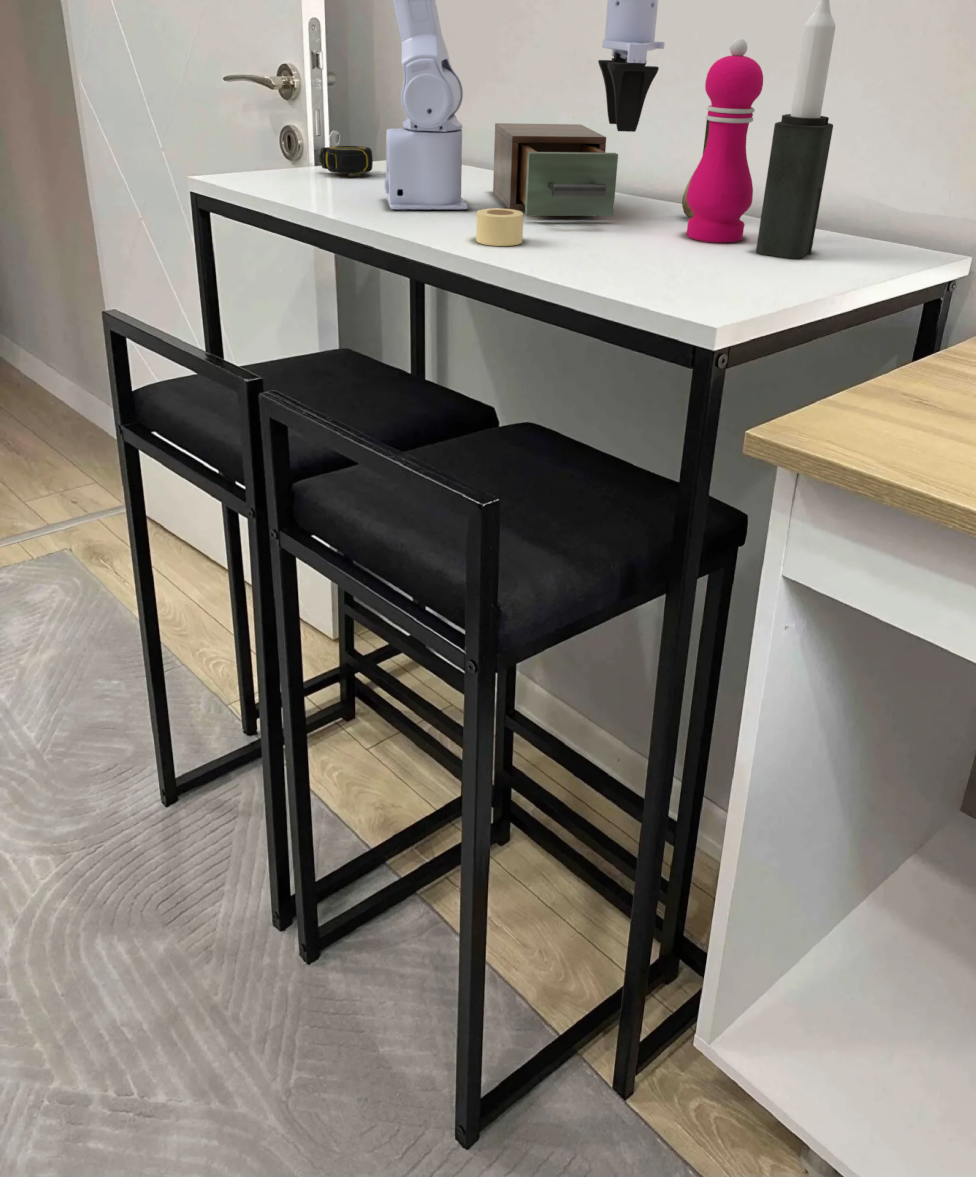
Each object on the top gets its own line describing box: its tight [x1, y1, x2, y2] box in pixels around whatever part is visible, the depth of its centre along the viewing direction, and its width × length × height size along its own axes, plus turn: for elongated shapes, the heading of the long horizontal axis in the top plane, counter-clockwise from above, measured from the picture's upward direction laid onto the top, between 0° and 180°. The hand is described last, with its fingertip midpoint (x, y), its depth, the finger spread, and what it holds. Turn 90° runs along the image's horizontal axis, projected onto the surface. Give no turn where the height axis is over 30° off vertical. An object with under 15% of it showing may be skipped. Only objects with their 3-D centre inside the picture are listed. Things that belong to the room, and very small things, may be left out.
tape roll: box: [475, 207, 524, 247], centre depth 114 cm, size 5×5×3 cm
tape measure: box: [318, 145, 374, 177], centre depth 151 cm, size 7×7×4 cm
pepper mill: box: [686, 38, 764, 244], centre depth 115 cm, size 7×7×20 cm
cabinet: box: [492, 122, 607, 212], centre depth 135 cm, size 14×12×9 cm
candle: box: [755, 0, 836, 260], centre depth 107 cm, size 5×5×25 cm
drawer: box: [516, 143, 619, 217], centre depth 126 cm, size 17×10×7 cm, turn 8°
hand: (621, 127), depth 126 cm, fingers open, 7 cm apart
